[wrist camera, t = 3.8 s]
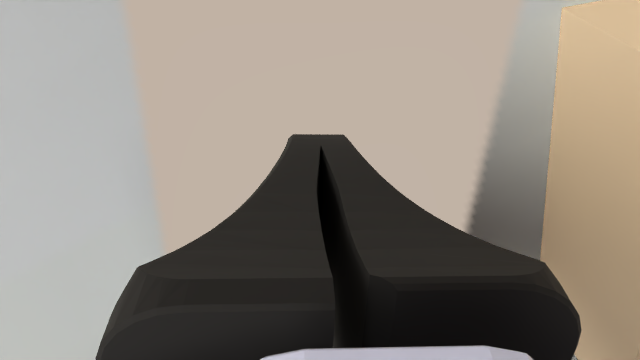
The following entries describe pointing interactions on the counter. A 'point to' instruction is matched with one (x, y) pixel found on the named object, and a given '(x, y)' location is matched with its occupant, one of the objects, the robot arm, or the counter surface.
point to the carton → (597, 176)
